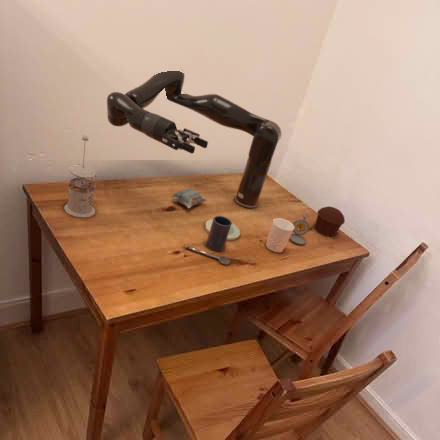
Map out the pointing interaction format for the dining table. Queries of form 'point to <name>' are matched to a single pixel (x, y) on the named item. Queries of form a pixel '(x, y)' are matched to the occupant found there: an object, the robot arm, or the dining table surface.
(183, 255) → the dining table surface
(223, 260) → the spoon
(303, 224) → the pocket watch
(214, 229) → the tumbler
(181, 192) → the packaged food
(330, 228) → the muffin
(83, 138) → the french press
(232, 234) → the side plate
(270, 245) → the white cup
